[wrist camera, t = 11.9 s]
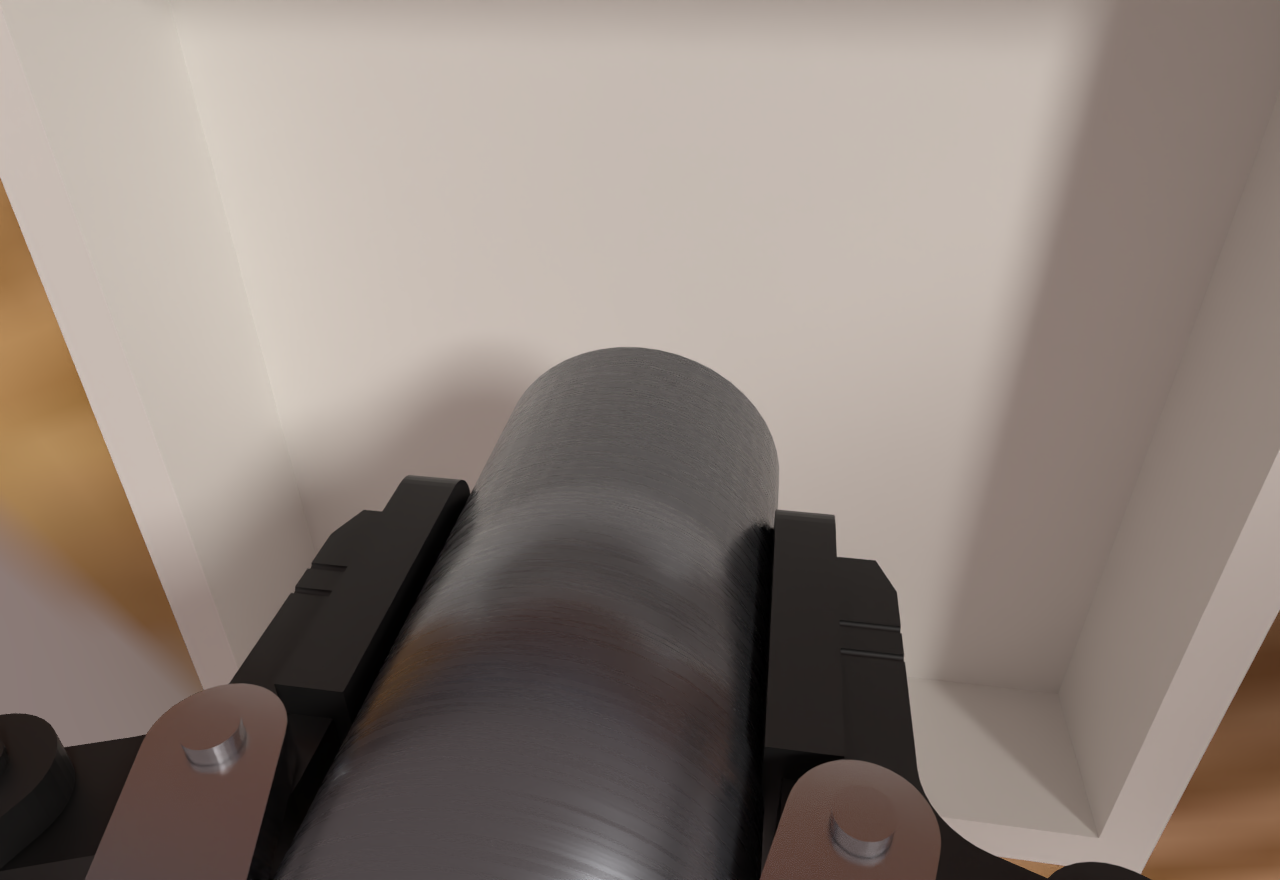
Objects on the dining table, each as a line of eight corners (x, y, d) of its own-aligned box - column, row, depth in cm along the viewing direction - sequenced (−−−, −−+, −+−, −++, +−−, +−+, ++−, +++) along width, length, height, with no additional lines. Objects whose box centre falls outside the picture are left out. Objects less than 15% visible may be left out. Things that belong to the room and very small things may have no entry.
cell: (791, 358, 12) (752, 1492, 4) (768, 587, 14) (713, 1611, 6) (492, 337, 12) (-110, 1292, 4) (516, 561, 15) (150, 1471, 6)
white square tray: (1466, -287, 11) (1783, -346, 8) (1082, 695, 21) (1139, 876, 18) (81, -258, 14) (-186, -291, 10) (318, 607, 24) (227, 749, 20)
